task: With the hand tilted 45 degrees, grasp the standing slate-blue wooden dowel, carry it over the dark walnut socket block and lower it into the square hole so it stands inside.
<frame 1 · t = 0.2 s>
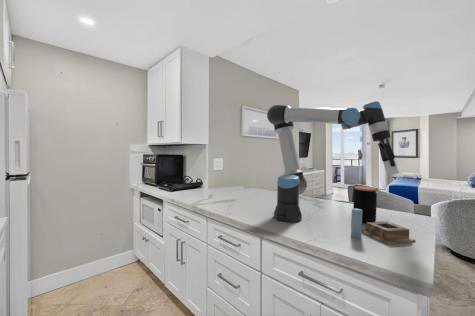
hand: (392, 173, 107), 27 cm above the worktop, tool tilted 15°, fingers open, 13 cm apart
coffee jar: (364, 221, 119), on the worktop
socket block: (386, 236, 97), on the worktop
dowel: (356, 237, 95), on the worktop
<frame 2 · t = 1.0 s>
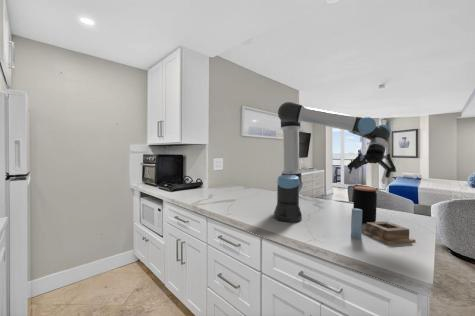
hand: (366, 180, 102), 24 cm above the worktop, tool tilted 45°, fingers open, 13 cm apart
nothing on the worktop moved.
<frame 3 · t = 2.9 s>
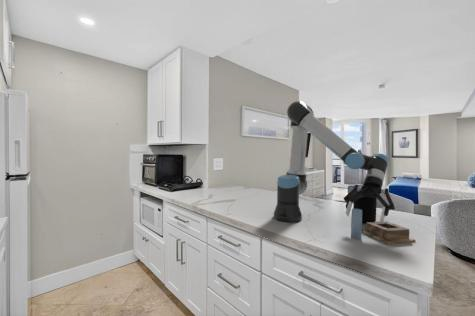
hand: (363, 217, 96), 8 cm above the worktop, tool tilted 45°, fingers open, 13 cm apart
nothing on the worktop moved.
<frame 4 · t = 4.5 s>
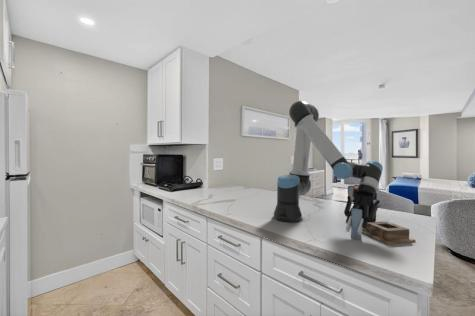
hand: (353, 231, 93), 3 cm above the worktop, tool tilted 45°, fingers closed on dowel, 4 cm apart
dowel: (356, 237, 95), on the worktop, touching gripper
everything else where it was.
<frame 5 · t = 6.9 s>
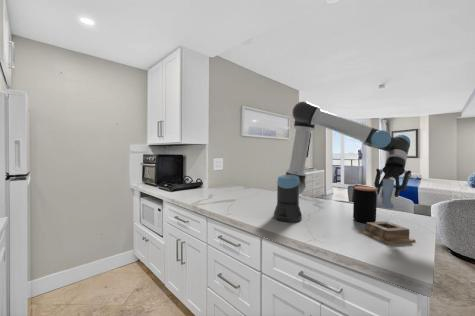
hand: (385, 200, 94), 16 cm above the worktop, tool tilted 45°, fingers closed on dowel, 4 cm apart
dowel: (387, 206, 96), point 13 cm above the worktop, touching gripper
everything else where it was.
when the fingers open (7 cm above the worktop, at t = 9.3 s): dowel drops 3 cm, resting on socket block.
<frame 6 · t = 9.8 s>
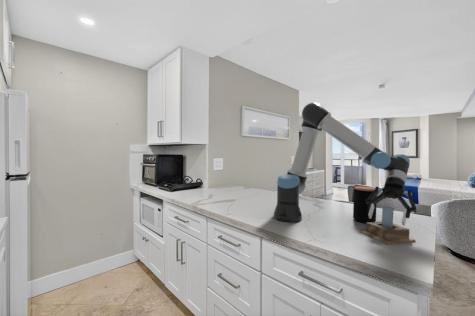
hand: (385, 220, 95), 8 cm above the worktop, tool tilted 45°, fingers open, 11 cm apart
dowel: (386, 234, 97), point 1 cm above the worktop, touching socket block
everything else where it was.
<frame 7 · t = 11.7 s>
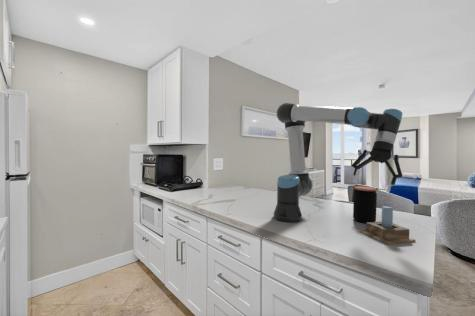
hand: (370, 187, 100), 21 cm above the worktop, tool tilted 15°, fingers open, 13 cm apart
nothing on the worktop moved.
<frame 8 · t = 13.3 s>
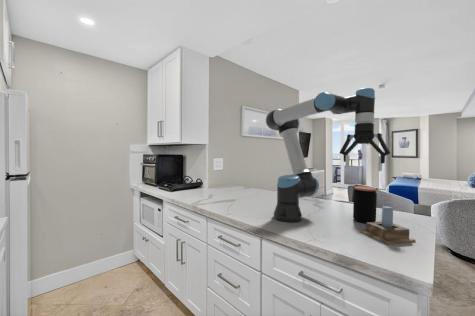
hand: (362, 169, 101), 29 cm above the worktop, tool pointing down, fingers open, 13 cm apart
nothing on the worktop moved.
at the end: dowel 0.1 cm off-centre on the socket block, point 0.8 cm above the socket block's base; dowel tilted 0°; the gripper is holding nothing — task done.
